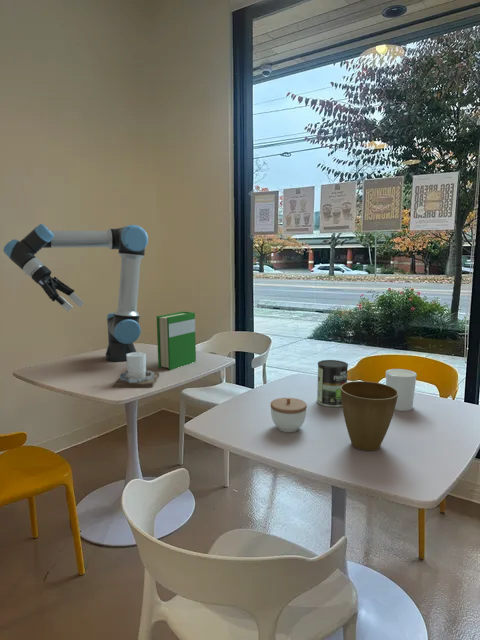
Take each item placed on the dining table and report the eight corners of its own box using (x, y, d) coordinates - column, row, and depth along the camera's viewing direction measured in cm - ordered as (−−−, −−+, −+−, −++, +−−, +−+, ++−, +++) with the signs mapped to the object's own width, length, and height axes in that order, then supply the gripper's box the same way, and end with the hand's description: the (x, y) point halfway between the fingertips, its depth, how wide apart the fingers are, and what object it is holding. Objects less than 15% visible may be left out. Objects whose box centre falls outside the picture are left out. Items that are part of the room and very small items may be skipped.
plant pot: (339, 455, 112) (341, 396, 109) (337, 432, 126) (339, 379, 124) (399, 460, 109) (403, 400, 107) (390, 435, 124) (393, 382, 121)
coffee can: (352, 403, 150) (354, 364, 148) (331, 409, 144) (332, 368, 142) (331, 395, 158) (332, 358, 156) (310, 400, 153) (311, 362, 151)
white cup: (149, 375, 180) (148, 352, 178) (143, 381, 172) (142, 356, 170) (131, 375, 180) (130, 351, 179) (124, 380, 173) (123, 356, 171)
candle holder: (417, 405, 148) (419, 371, 146) (410, 414, 140) (412, 378, 138) (388, 399, 153) (390, 367, 151) (380, 408, 145) (382, 373, 143)
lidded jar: (313, 428, 129) (314, 398, 128) (290, 439, 122) (291, 407, 120) (285, 418, 137) (286, 390, 135) (263, 428, 130) (263, 398, 128)
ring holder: (123, 376, 184) (123, 369, 183) (159, 376, 184) (158, 369, 183) (114, 387, 169) (113, 380, 168) (152, 387, 169) (152, 379, 168)
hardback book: (170, 370, 193) (168, 317, 189) (158, 367, 197) (156, 316, 193) (195, 361, 207) (194, 312, 203) (184, 359, 211) (183, 311, 207)
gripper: (44, 276, 191) (80, 309, 194) (16, 279, 167) (58, 317, 169) (56, 264, 190) (92, 297, 193) (29, 266, 166) (71, 304, 168)
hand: (76, 307), depth 181 cm, fingers open, 13 cm apart
